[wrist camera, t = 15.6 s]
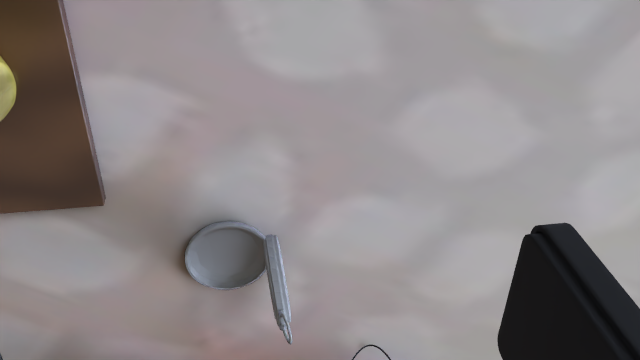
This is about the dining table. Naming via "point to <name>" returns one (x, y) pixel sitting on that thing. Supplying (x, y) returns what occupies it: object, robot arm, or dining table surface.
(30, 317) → the dining table surface
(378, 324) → the dining table surface
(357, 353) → the game controller
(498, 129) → the dining table surface
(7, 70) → the vase
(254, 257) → the pocket watch
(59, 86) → the serving board
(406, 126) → the dining table surface
